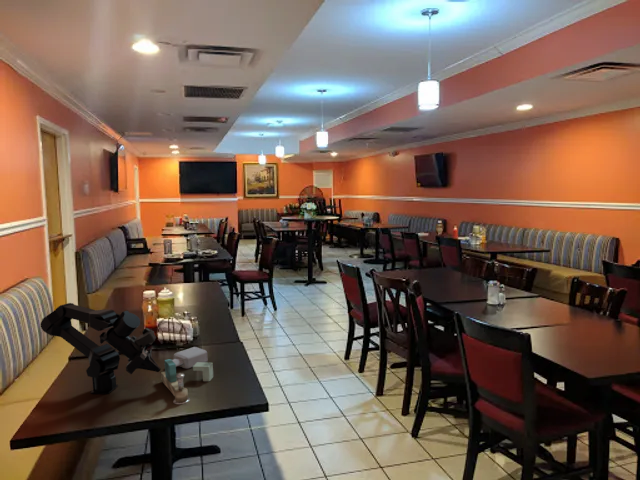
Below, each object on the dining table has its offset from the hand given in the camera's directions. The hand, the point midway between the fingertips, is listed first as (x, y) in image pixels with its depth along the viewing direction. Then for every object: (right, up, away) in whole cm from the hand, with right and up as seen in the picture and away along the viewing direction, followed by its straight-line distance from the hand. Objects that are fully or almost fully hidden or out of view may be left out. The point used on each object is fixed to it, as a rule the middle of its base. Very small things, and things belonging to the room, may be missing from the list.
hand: (159, 370), depth 159 cm
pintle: (+10, -7, -8) cm, 15 cm away
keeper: (+13, -5, +9) cm, 16 cm away
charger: (+2, -4, +22) cm, 23 cm away
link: (+5, -6, -1) cm, 8 cm away
